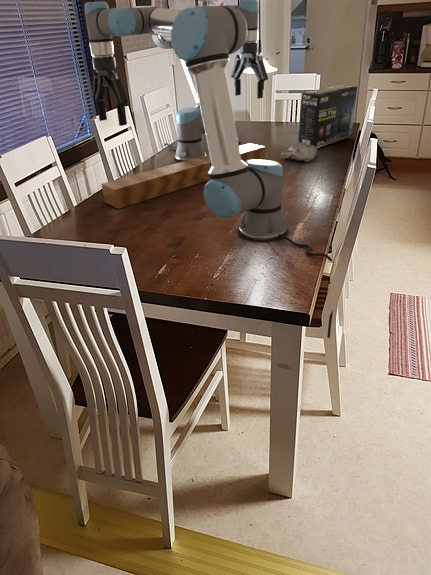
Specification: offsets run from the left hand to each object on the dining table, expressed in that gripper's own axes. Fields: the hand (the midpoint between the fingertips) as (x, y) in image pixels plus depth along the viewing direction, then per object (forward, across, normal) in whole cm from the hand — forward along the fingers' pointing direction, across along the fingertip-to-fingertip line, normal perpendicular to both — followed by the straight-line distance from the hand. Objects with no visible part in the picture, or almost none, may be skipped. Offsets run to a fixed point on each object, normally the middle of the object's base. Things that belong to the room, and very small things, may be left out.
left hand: (248, 96), depth 202 cm
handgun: (+30, +40, -26) cm, 56 cm away
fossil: (+30, -12, -22) cm, 39 cm away
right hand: (0, 0, +69) cm, 69 cm away
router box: (+30, -4, -54) cm, 61 cm away
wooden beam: (+30, 0, +34) cm, 45 cm away
